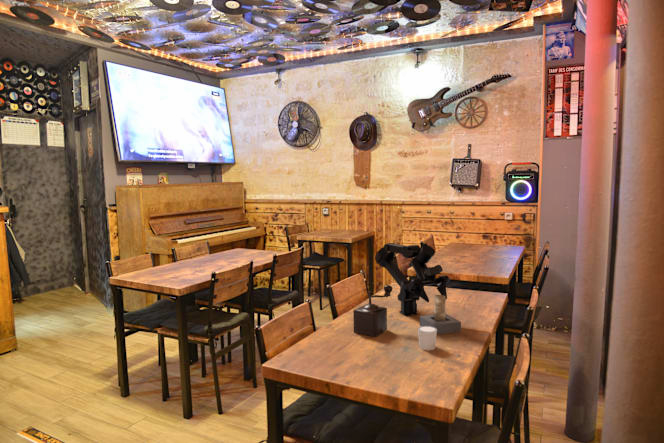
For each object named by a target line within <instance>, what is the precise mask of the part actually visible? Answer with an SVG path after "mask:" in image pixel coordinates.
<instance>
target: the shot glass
mask: <svg viewBox="0 0 664 443" xmlns="http://www.w3.org/2000/svg"><path fill="white" fill-rule="evenodd" d="M417 332H418V333H417V334H418V344H419V345H418V347H419V348H420V350H424V351H433V350H435V349H436V343H437V335H436V334H437V329H436V328H434V327H431V326H419V327H418V328H417Z"/></svg>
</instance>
